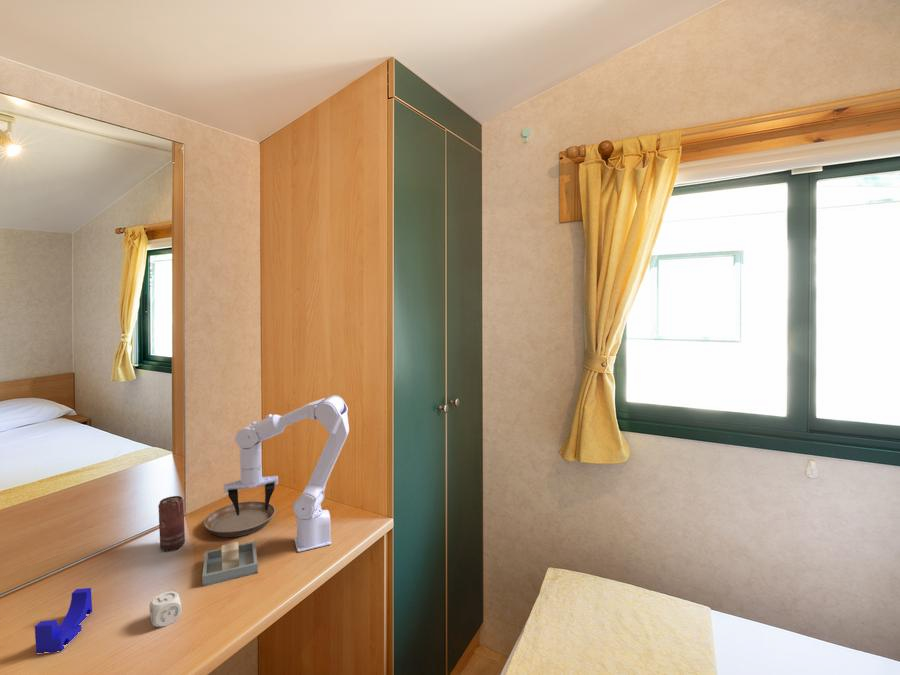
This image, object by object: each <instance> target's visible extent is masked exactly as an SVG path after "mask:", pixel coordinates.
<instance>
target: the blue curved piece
mask: <svg viewBox="0 0 900 675" xmlns="http://www.w3.org/2000/svg"><path fill="white" fill-rule="evenodd" d="M91 612H92V613H93V601H92V587H87V588H86V587H85V588H76V589H75V590H74V591H73V592H71V601H70V605H69V608H68V611H67V613H66V615H65V617H64V619H63V620H62V622H61V623H60V624H59V623H58V620H57V619H52V620H42V621H41V620H40V621H39V622H38V623H37V624H36V625H35V626H34V637H35V638H34V639H35V654H36V653H44V652H57V651H62V650H63V649H64V646H63V645H66V644H68V643H69V642H70V641H71V640H72V639H73V638H74V637H75V636H76V635H77V634H78V632H80V631H81V629H83V628H82V624H81V625H79V624H80V623H81V622H82V621H83V620H84V619H85V618H86V617H87V616H86V614H90V613H91ZM92 613H91V614H92ZM91 614H90V615H91ZM87 618H88V617H87ZM87 618H86V619H87ZM86 619H85V620H86ZM81 632H82V631H81ZM81 632H80V633H81ZM78 635H79V634H78ZM78 635H77V636H78ZM77 636H76V637H77ZM76 637H75V638H76ZM75 638H74V639H75ZM74 639H73V640H74ZM73 640H72V641H73ZM72 641H71V642H72ZM71 642H70V643H71ZM64 650H65V649H64ZM64 650H63V651H64ZM63 651H62V652H63ZM57 653H58V652H57Z"/></svg>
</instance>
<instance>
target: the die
mask: <svg viewBox="0 0 900 675" xmlns="http://www.w3.org/2000/svg"><path fill="white" fill-rule="evenodd" d="M148 609H149V617H150V621H151V624H152V627H156V628H163V627H167V626H169V625H171V624H173V623H174V622H175V621H177V620H178V619H179V618H180V616H181V614H182V602H181V598H180V595H179V593H178V592H176V591H173V590H172V591H171V590H170V591H165V592H162V593H159V594H158V595H156V596H155V597H153V599H152V600H151V601H150V602H149V608H148Z"/></svg>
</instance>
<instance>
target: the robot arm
mask: <svg viewBox="0 0 900 675" xmlns="http://www.w3.org/2000/svg"><path fill="white" fill-rule="evenodd" d="M348 411H349V408H348V406H347V404H346V402H345V401H344V399H343V398H342V397H341V396H339V395H334V394H333V395H330V396H328V397H327V398H325V397H324V398H320V399H318V400H315V401H311V402H310V403H307V404H305V405H302V406H301V407H299V408H297V409H294V410H292V411H290V412H288V413H286V414H284V415H280V414H272V413H270V414H268V415H266V416H265V418H264V419H261V420H259V421H253V422H251V424H249V425H247V426H245V427H243V428H241V429H240V430H239V431H238V432H237V433H236V434H235V442H236V444H237V446H239V468H240V469H239V470H240V479H239V480H236V481H233V482H228V483H224V484H223V493H224V494H225V493H226V494H227V493H228V498H229V499H230V501H231V502H232V504H233V505H234V507H235V510H236V514H237V516H238V515H239V504H238V503H239V491H240V490H245V489H254V488H258V487H264V502H265V510H268V505H269V504H270V501H271V499H272V498H271V497H272V495H273V493H274V490H275V488H276V486H275V485H279V476H278V475H273V476H263V469H262V442H263V441H266V440H268V439H270V438H272V437H275V436H277V435H280V434H283V432H285V429H286V428H287V426H290V425H292V424H294V423H297V422H300V421H302V420H305V419H308V418H309V419H310V420H312V421H316V420H317V421H319V423H320V424H321V425H322V426H323V427H324V428H325V429H326V430H327V432H328V433H329V436H328V438H327V440H326V442H325V445H324V447H323V449H322V451H321V454H320V456H319V458H318V460H317V463H316V464H315V467H314V470H313V471H312V474H311V476H310V478H309V481H308V483H307V484H306V486H305V488H304V490H303V491H302V493H301V495H300V496H299V497H298V498H297V499H296V500H295V501H294V502H293V505H292V511H293V514H294V515H295V516H296V537H294V538H293V540H294V544H295V547H296V551H297V552H298V553H300V552H304V551H308V550H313V549H316V548H322V547H326V546H331V544H332V535H331V534H332V531H331V514H330V510H328V509H322V506H321V505H322V503H323V501H324V500H325V490H326V487H327V482H328V480H329V478H330V475H331V474H332V471H333V469H334V467H335V464H336V462H337V460H338V458H339V456H340V453H341V451H342V449H343V446H344V445H345V442H346V440H347V438H348V435H349V433H350V425H349V417H348Z"/></svg>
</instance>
